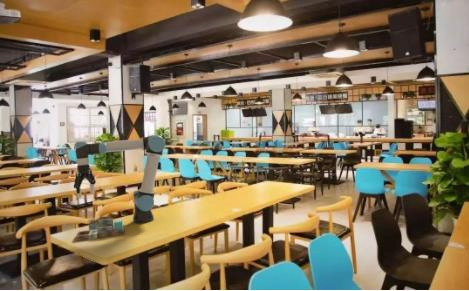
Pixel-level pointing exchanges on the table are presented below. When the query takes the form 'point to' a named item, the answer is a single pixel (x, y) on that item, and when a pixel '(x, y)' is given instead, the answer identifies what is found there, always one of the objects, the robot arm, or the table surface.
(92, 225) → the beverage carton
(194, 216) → the table surface
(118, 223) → the teal block
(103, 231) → the brown piece
